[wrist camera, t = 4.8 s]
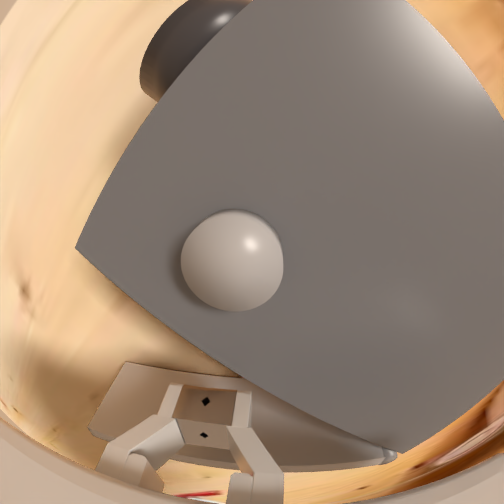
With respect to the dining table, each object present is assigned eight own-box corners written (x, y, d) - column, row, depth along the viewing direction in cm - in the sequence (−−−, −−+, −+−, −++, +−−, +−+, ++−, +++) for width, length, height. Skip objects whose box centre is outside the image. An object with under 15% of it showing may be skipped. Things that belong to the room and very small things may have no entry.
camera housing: (495, 260, 10) (567, 320, 5) (377, 372, 13) (405, 464, 8) (273, 8, 8) (267, -94, 2) (131, 176, 10) (20, 215, 5)
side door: (377, 376, 13) (400, 453, 8) (371, 389, 14) (391, 464, 9) (125, 360, 14) (86, 426, 9) (130, 373, 15) (95, 438, 10)
